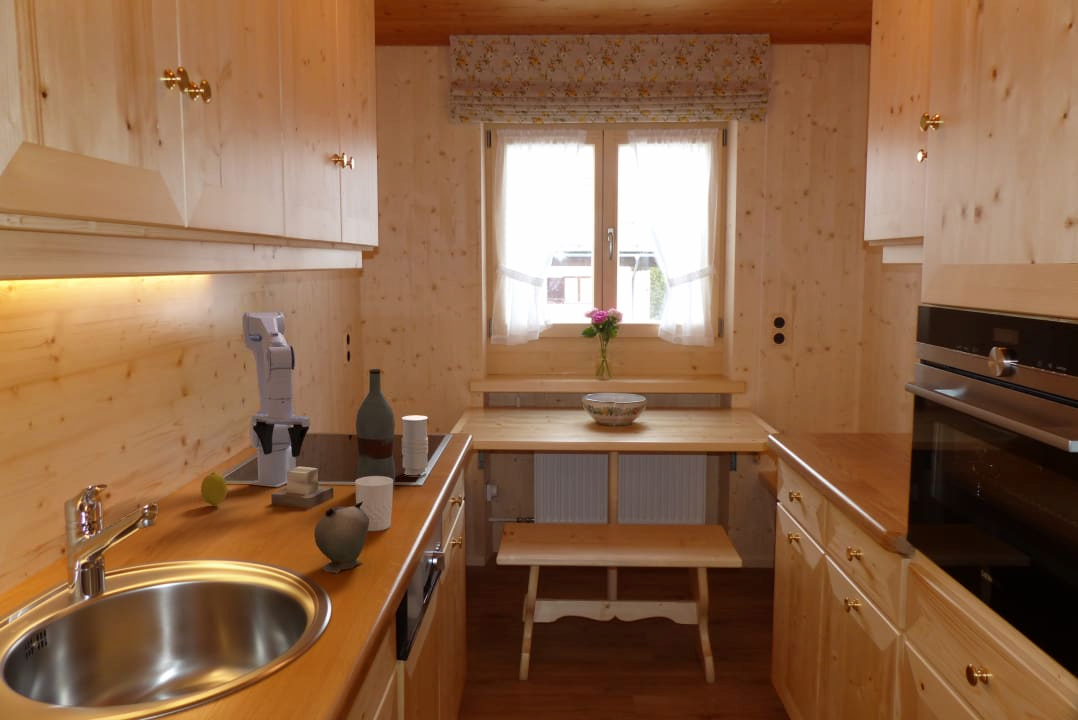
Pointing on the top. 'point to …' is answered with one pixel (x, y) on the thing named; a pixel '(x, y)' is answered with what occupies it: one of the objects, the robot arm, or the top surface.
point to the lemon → (214, 489)
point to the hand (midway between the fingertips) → (281, 455)
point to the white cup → (375, 500)
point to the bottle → (375, 433)
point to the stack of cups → (414, 444)
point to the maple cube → (302, 480)
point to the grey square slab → (302, 498)
